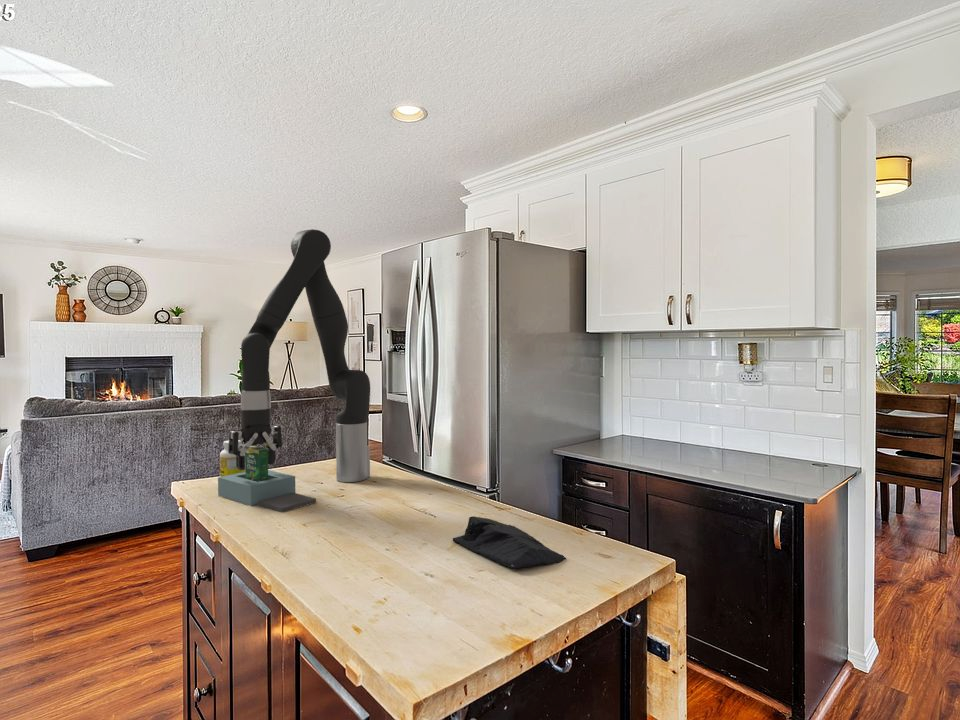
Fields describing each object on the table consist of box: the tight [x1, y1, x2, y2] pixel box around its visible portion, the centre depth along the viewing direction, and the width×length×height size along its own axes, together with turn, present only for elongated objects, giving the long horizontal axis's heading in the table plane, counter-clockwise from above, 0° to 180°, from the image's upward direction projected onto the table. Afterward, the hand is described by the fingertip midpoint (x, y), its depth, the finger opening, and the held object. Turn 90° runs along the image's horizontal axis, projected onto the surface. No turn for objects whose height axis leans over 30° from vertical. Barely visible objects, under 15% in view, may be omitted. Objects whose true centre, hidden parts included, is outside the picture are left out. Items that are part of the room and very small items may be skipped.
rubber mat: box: [257, 492, 317, 513], centre depth 137 cm, size 10×10×1 cm
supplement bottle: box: [219, 439, 246, 477], centre depth 156 cm, size 7×7×13 cm
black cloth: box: [452, 515, 567, 570], centre depth 106 cm, size 15×22×5 cm
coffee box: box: [245, 445, 269, 482], centre depth 145 cm, size 8×3×13 cm, turn 49°
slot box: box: [217, 469, 296, 507], centre depth 145 cm, size 13×16×5 cm
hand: (256, 466), depth 145 cm, fingers open, 8 cm apart
